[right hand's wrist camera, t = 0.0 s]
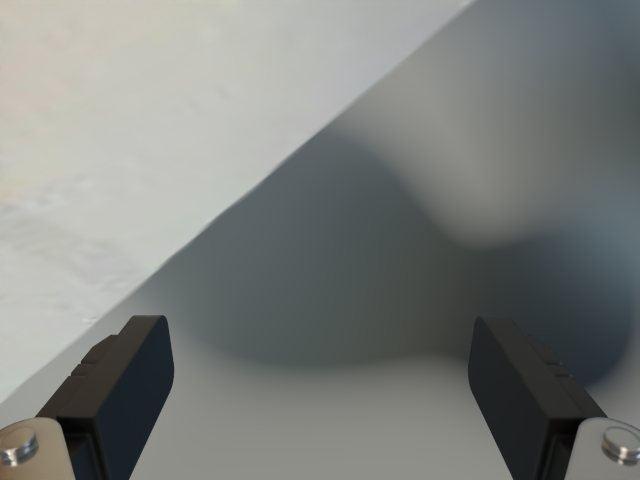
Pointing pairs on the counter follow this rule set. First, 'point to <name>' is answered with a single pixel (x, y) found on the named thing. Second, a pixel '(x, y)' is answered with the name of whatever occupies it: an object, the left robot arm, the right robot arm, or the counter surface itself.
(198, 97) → the counter surface
